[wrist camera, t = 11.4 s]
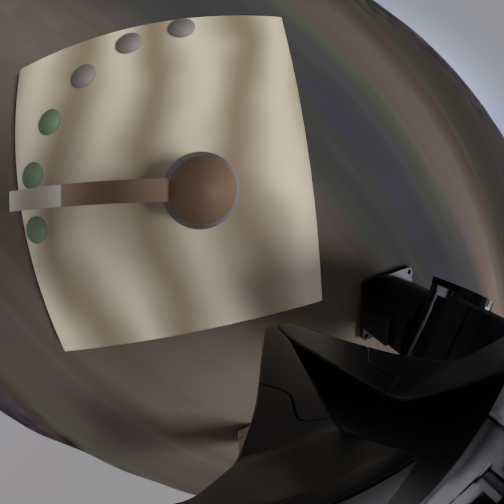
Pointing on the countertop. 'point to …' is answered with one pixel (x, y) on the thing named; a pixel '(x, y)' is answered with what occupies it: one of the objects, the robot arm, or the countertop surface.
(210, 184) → the peg
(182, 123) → the board
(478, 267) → the countertop surface
